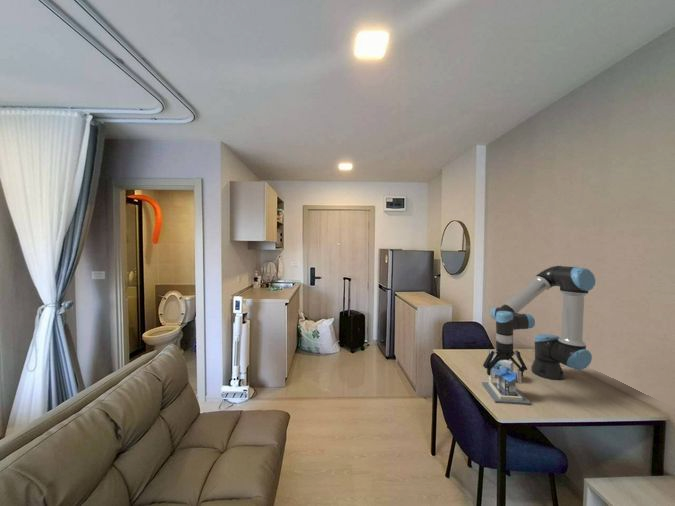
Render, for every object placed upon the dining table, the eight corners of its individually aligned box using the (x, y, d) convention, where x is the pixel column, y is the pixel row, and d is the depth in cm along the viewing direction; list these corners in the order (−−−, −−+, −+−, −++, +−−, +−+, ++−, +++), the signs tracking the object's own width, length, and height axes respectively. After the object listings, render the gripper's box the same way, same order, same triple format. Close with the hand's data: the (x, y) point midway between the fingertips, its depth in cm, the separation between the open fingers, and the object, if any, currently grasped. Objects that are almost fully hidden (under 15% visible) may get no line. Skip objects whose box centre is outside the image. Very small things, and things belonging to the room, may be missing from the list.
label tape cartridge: (496, 388, 143) (496, 366, 143) (503, 388, 143) (503, 365, 143) (509, 398, 134) (509, 374, 134) (516, 397, 135) (516, 373, 134)
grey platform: (513, 385, 148) (513, 381, 148) (531, 405, 130) (531, 400, 130) (481, 383, 150) (481, 379, 150) (495, 402, 132) (495, 397, 132)
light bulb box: (490, 376, 158) (490, 358, 158) (493, 372, 163) (492, 355, 163) (511, 382, 151) (511, 363, 150) (513, 378, 156) (513, 359, 155)
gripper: (527, 339, 141) (527, 379, 142) (476, 338, 145) (476, 377, 146) (535, 345, 133) (535, 387, 134) (481, 343, 137) (481, 384, 138)
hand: (504, 382), depth 140 cm, fingers open, 13 cm apart
